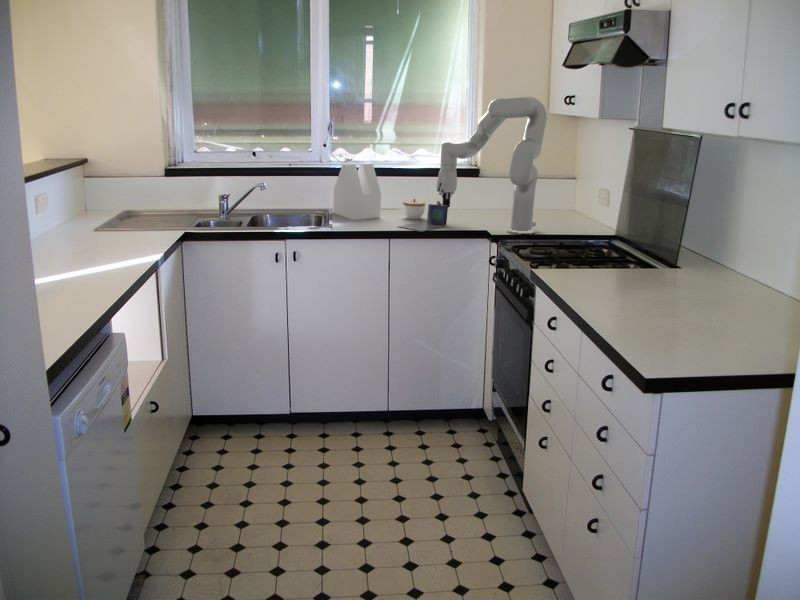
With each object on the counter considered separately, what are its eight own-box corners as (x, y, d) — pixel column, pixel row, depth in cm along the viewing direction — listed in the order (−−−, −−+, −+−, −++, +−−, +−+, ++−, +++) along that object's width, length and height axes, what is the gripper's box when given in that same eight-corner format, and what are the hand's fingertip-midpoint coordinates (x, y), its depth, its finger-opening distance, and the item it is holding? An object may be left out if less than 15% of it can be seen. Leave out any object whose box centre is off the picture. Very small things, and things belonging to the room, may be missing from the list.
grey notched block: (333, 212, 400) (334, 161, 393) (360, 211, 408) (361, 160, 401) (352, 219, 385) (353, 166, 378) (380, 217, 393) (382, 165, 386)
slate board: (421, 222, 385) (421, 221, 384) (444, 227, 376) (444, 226, 376) (397, 226, 372) (397, 226, 372) (421, 231, 363) (421, 230, 363)
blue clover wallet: (426, 223, 381) (428, 200, 379) (427, 222, 384) (429, 199, 382) (446, 225, 381) (448, 202, 378) (446, 224, 384) (448, 201, 381)
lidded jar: (398, 216, 398) (399, 197, 395) (418, 215, 402) (419, 196, 400) (408, 220, 389) (409, 201, 386) (428, 219, 393) (429, 200, 391)
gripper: (451, 165, 388) (449, 204, 393) (432, 168, 377) (429, 207, 382) (464, 167, 383) (461, 206, 388) (444, 169, 372) (442, 209, 377)
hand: (446, 206), depth 385 cm, fingers closed
